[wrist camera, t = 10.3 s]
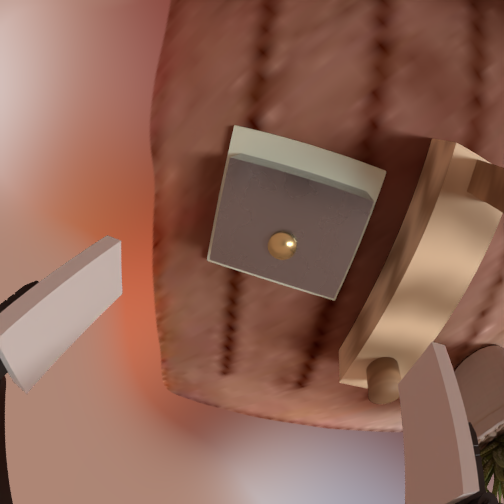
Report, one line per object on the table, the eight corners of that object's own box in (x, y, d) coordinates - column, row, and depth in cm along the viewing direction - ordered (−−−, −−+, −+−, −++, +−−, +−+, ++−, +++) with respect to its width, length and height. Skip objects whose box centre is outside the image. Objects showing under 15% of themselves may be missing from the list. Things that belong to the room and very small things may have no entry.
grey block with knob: (241, 153, 21) (228, 157, 18) (366, 191, 20) (375, 203, 17) (221, 244, 25) (207, 262, 22) (332, 279, 24) (333, 301, 21)
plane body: (432, 138, 18) (496, 151, 9) (485, 168, 17) (555, 198, 9) (338, 350, 28) (338, 426, 19) (387, 361, 27) (397, 434, 19)
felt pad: (236, 125, 21) (234, 125, 20) (384, 170, 20) (386, 171, 19) (208, 257, 26) (206, 260, 26) (334, 297, 25) (334, 300, 25)
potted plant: (410, 391, 29) (424, 538, 11) (491, 315, 22) (560, 467, 4) (458, 411, 29) (477, 525, 11) (526, 350, 23) (574, 464, 5)
